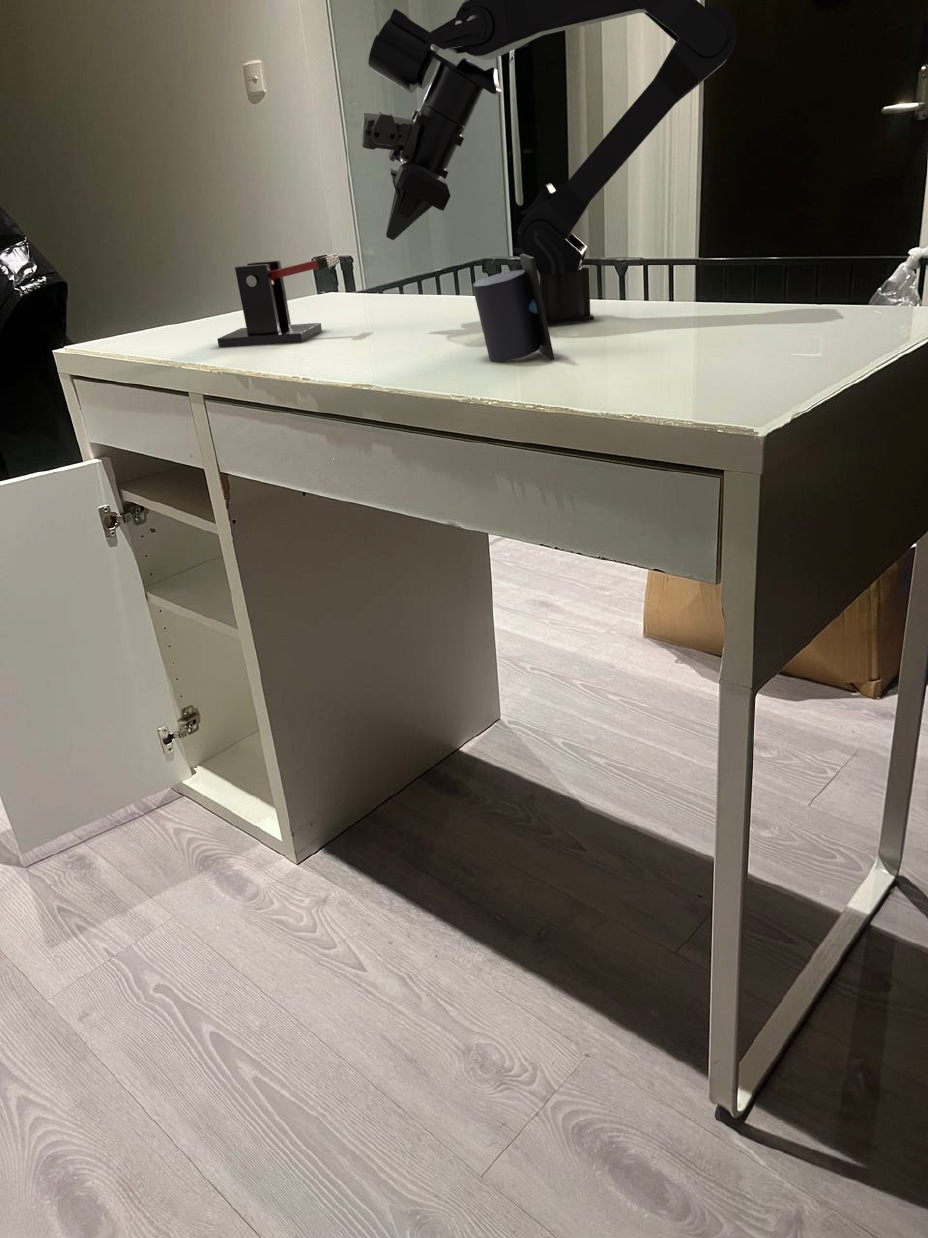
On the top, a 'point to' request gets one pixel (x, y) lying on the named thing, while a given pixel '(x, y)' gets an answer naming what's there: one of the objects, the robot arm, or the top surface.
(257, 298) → the lever switch
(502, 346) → the speaker
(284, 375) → the top surface
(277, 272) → the paintbrush
